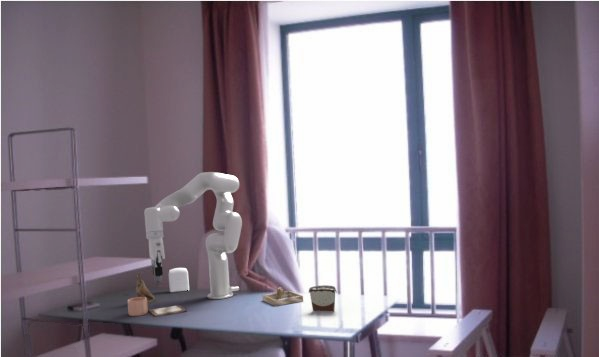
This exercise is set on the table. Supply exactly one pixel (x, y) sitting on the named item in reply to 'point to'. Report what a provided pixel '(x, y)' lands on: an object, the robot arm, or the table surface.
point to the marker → (157, 278)
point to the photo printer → (178, 279)
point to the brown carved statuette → (143, 290)
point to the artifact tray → (294, 298)
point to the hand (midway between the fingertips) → (158, 274)
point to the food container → (323, 298)
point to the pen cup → (137, 306)
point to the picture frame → (167, 310)
